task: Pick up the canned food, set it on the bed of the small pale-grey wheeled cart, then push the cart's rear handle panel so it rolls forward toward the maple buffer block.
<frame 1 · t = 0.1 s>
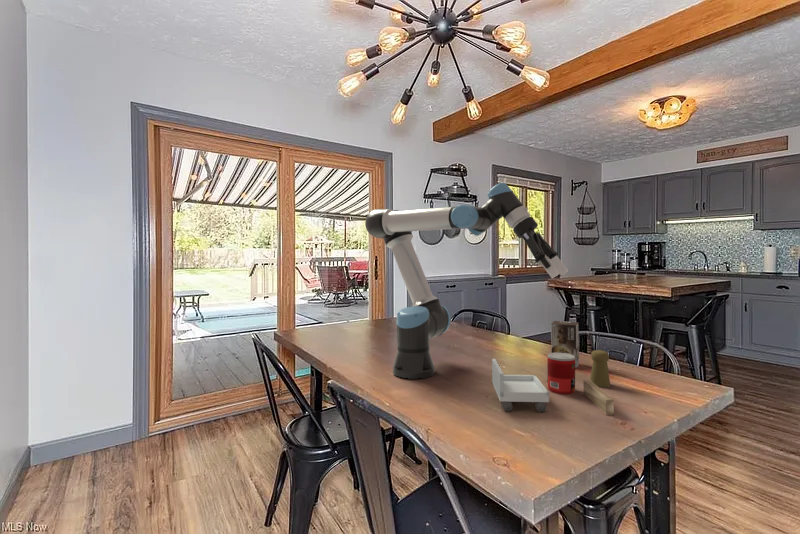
hand: (560, 275, 127), 36 cm above the table, tool tilted 35°, fingers open, 13 cm apart
cork: (599, 384, 128), on the table
buffer: (597, 403, 113), on the table
canned food: (561, 391, 124), on the table
coffee box: (565, 365, 151), on the table
cart: (518, 383, 115), point 5 cm above the table, slide at 0.0 cm
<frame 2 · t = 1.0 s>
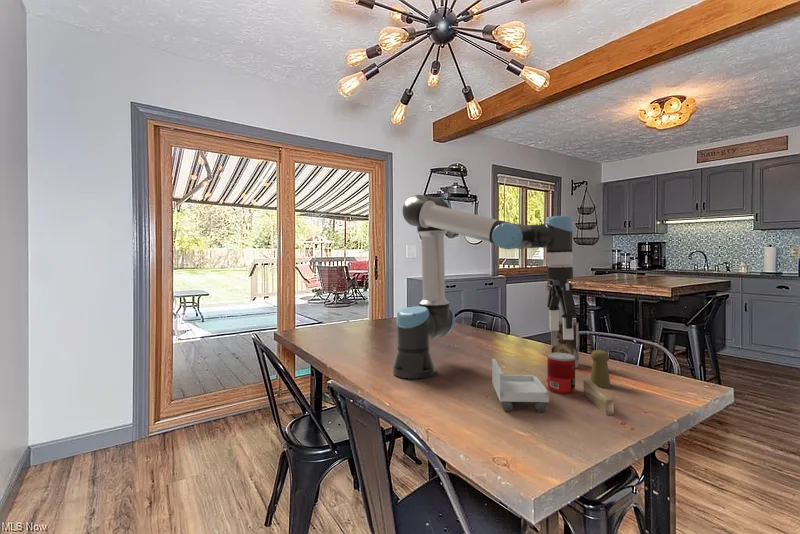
hand: (560, 334, 123), 17 cm above the table, tool pointing down, fingers open, 13 cm apart
nothing on the table moved.
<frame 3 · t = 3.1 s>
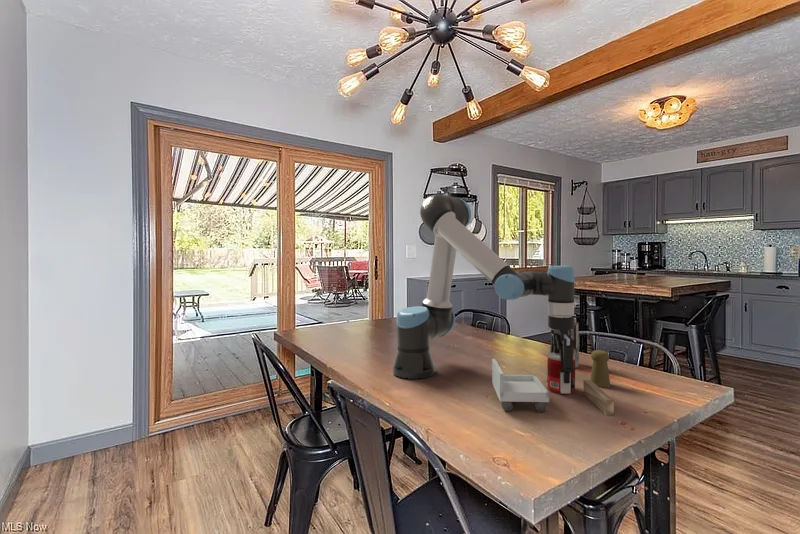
hand: (561, 388, 124), 1 cm above the table, tool pointing down, fingers closed on canned food, 8 cm apart
canned food: (561, 390, 124), on the table, touching gripper
everything else where it was.
when the fingers open (7 cm above the table, at t = 7.4 s): canned food drops 2 cm, resting on cart.
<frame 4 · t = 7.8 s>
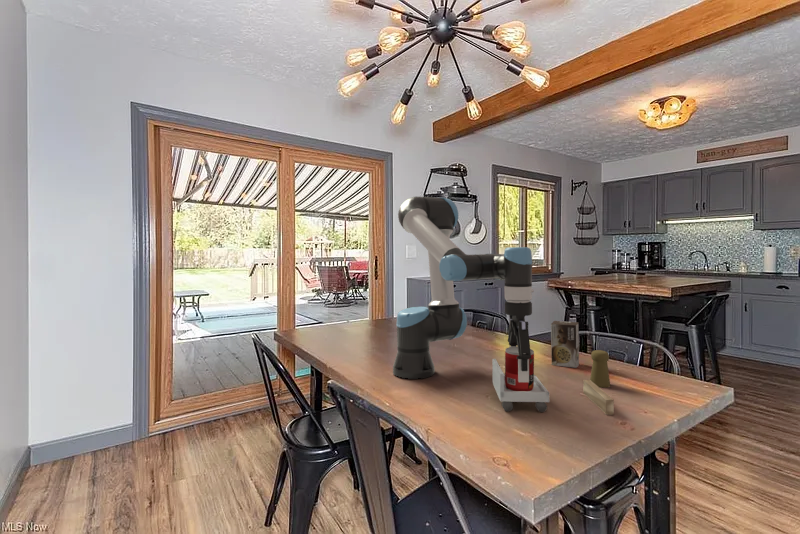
hand: (518, 374, 115), 8 cm above the table, tool pointing down, fingers open, 12 cm apart
canned food: (519, 388, 115), point 4 cm above the table, touching cart
cart: (518, 383, 115), point 5 cm above the table, slide at 0.1 cm, touching canned food
everything else where it was.
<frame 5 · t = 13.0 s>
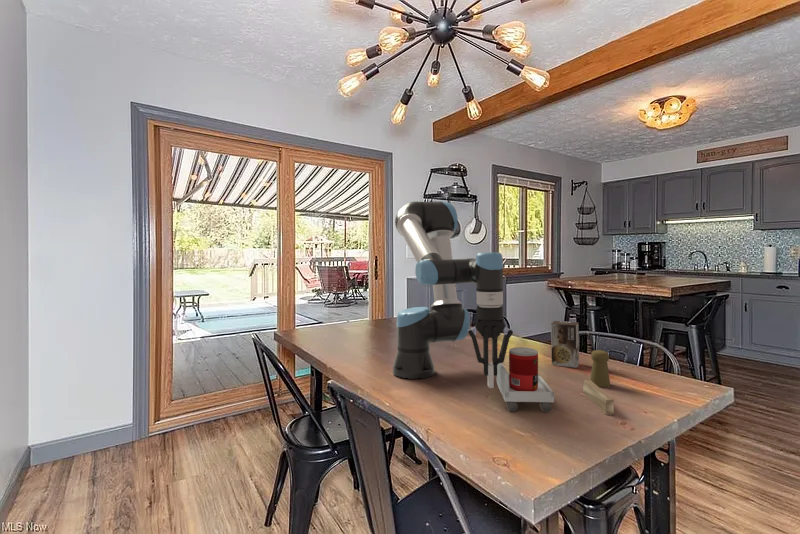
hand: (490, 386, 115), 5 cm above the table, tool pointing down, fingers closed
canned food: (523, 388, 115), point 4 cm above the table, touching cart
cart: (523, 383, 115), point 5 cm above the table, slide at 1.3 cm, touching canned food, gripper
everything else where it was.
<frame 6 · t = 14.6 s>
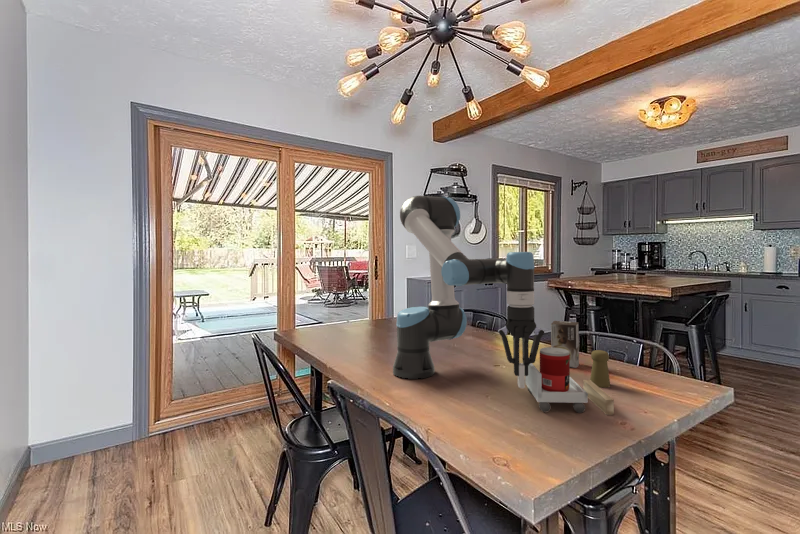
hand: (521, 386, 115), 5 cm above the table, tool pointing down, fingers closed
canned food: (554, 388, 114), point 4 cm above the table, touching cart
cart: (554, 384, 114), point 5 cm above the table, slide at 10.0 cm, touching canned food, gripper
everything else where it was.
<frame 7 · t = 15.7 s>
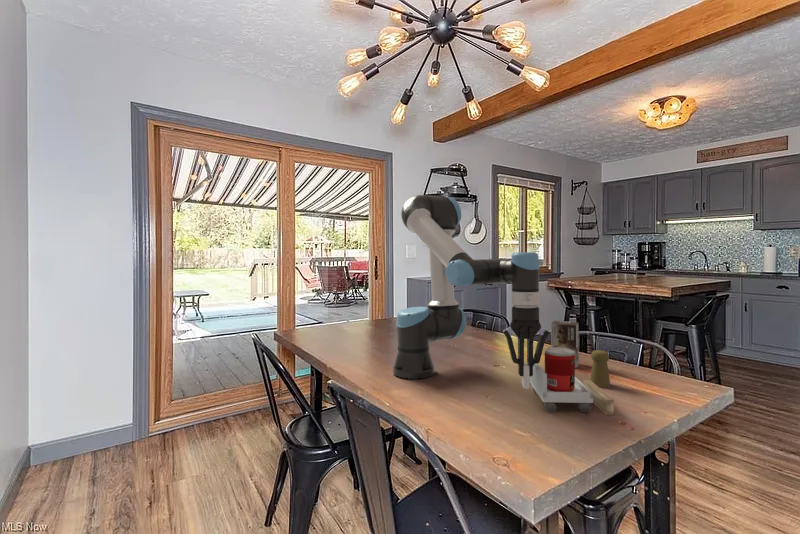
hand: (525, 386, 115), 4 cm above the table, tool pointing down, fingers closed
canned food: (559, 389, 114), point 4 cm above the table, touching cart
cart: (559, 384, 114), point 5 cm above the table, slide at 11.5 cm, touching canned food
everything else where it was.
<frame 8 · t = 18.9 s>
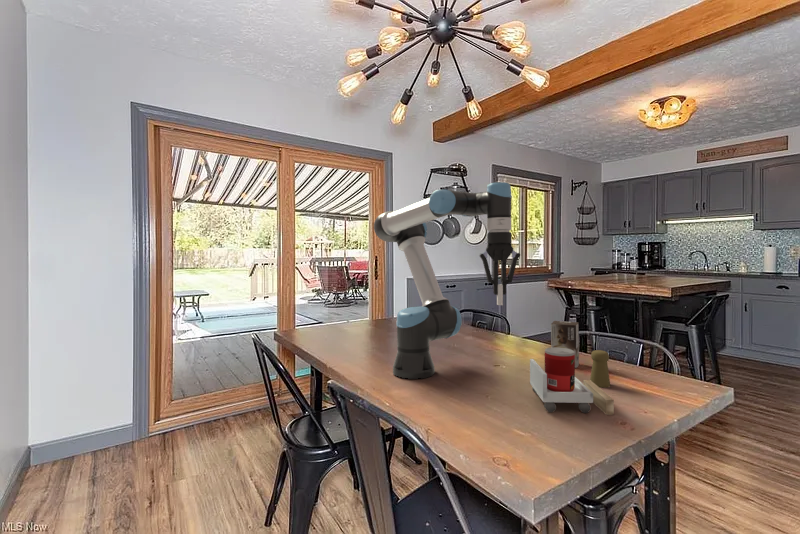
hand: (499, 304, 128), 26 cm above the table, tool pointing down, fingers closed
nothing on the table moved.
at the end: cart slide at 11.5 cm; canned food inside the target area on the cart (0.1 cm from its centre), point 3.9 cm above the cart's base; canned food tilted 0° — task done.
